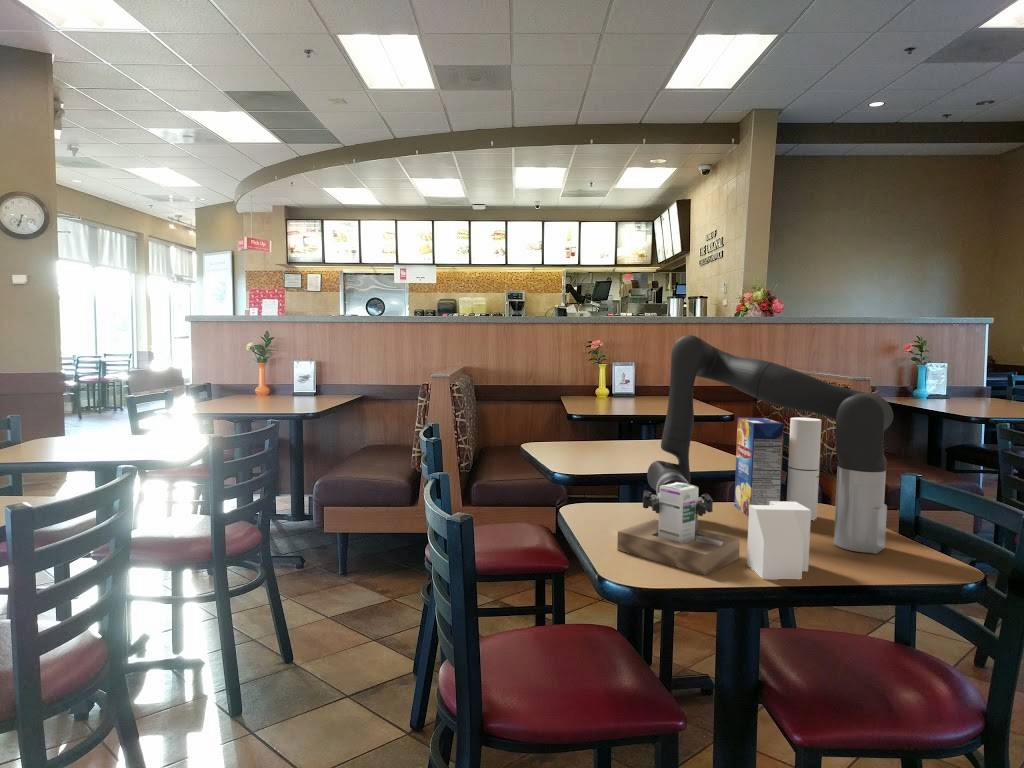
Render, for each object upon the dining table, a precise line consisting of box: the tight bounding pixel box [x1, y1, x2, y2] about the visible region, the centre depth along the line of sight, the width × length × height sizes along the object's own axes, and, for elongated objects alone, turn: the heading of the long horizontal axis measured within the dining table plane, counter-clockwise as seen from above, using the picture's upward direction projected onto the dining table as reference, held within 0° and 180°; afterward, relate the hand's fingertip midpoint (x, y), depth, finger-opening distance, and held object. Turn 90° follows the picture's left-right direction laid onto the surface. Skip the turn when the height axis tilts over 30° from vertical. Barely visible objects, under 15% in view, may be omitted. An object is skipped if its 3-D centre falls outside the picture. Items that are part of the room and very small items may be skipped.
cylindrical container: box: [786, 417, 822, 521], centre depth 165 cm, size 7×7×25 cm
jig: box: [616, 519, 741, 576], centre depth 134 cm, size 20×14×5 cm
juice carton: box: [733, 417, 785, 518], centre depth 169 cm, size 12×8×24 cm, turn 0°
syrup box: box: [658, 482, 699, 544], centre depth 134 cm, size 6×6×14 cm
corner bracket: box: [746, 500, 812, 581], centre depth 126 cm, size 11×11×12 cm
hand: (679, 509), depth 132 cm, fingers open, 8 cm apart
